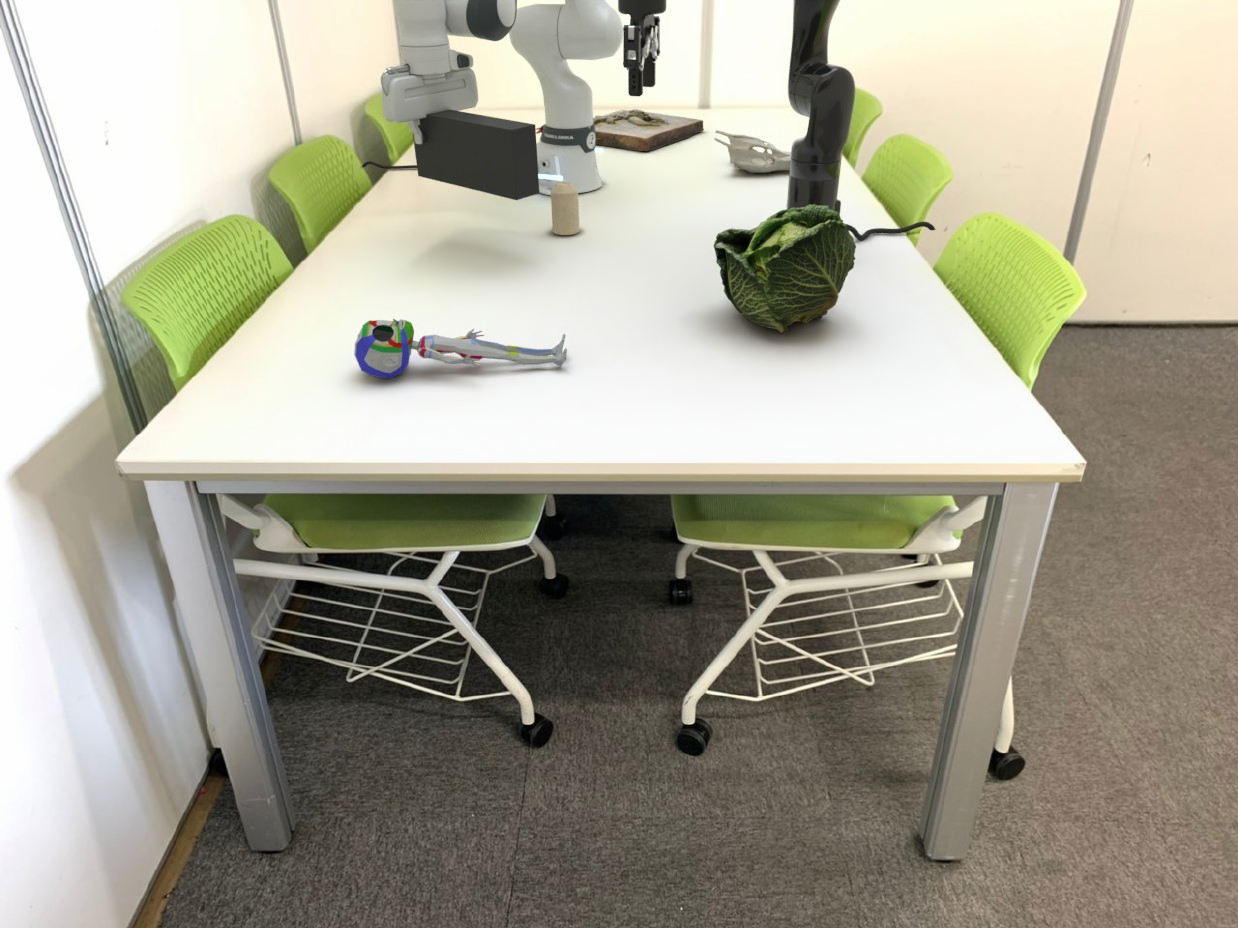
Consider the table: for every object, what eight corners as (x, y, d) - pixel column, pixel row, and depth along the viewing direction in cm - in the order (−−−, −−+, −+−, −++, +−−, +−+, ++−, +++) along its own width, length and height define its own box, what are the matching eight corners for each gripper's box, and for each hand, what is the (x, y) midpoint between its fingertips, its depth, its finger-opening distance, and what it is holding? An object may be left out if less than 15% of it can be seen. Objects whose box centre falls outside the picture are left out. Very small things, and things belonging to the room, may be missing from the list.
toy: (569, 347, 126) (349, 329, 122) (563, 400, 131) (350, 385, 126) (565, 318, 135) (359, 301, 130) (559, 369, 139) (360, 354, 134)
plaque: (647, 125, 237) (559, 112, 252) (647, 153, 241) (560, 139, 256) (706, 107, 258) (622, 97, 273) (705, 133, 262) (622, 121, 277)
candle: (583, 228, 187) (581, 180, 181) (573, 236, 182) (571, 187, 177) (558, 226, 188) (556, 178, 183) (548, 234, 184) (545, 185, 178)
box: (418, 176, 174) (409, 111, 168) (441, 170, 178) (433, 106, 172) (516, 200, 159) (511, 130, 152) (539, 193, 162) (535, 124, 156)
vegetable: (744, 347, 153) (688, 245, 145) (835, 284, 154) (785, 179, 146) (797, 369, 135) (736, 254, 127) (900, 297, 136) (846, 179, 128)
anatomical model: (716, 127, 227) (816, 125, 224) (715, 164, 232) (813, 163, 229) (712, 140, 215) (818, 139, 211) (712, 179, 220) (815, 179, 216)
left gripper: (390, 70, 155) (402, 152, 162) (479, 56, 168) (486, 133, 175) (368, 67, 159) (381, 147, 166) (457, 53, 172) (465, 128, 179)
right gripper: (655, -18, 131) (654, 100, 140) (676, -25, 142) (674, 84, 151) (605, -18, 133) (608, 98, 141) (630, -25, 144) (631, 83, 153)
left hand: (435, 140), depth 171 cm, fingers closed on box, 6 cm apart
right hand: (642, 91), depth 146 cm, fingers open, 8 cm apart
